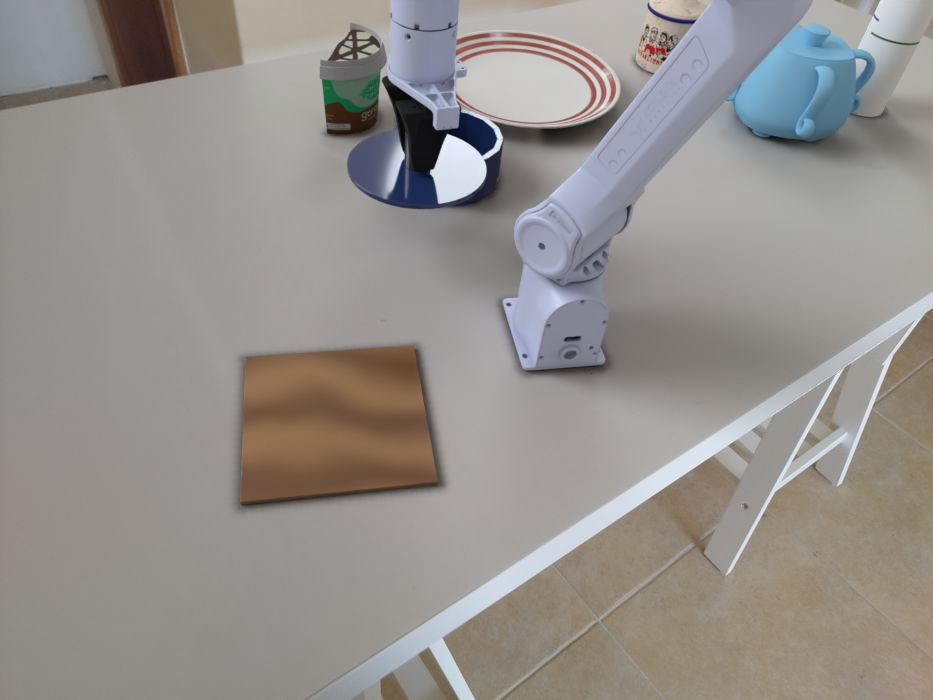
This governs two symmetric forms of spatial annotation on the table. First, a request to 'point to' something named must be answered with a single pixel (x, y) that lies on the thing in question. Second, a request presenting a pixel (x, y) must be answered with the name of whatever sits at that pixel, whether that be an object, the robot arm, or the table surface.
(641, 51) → the teacup with lid
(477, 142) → the tin
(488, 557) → the table surface
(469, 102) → the dinner plate
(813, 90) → the decorative pot
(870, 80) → the cylindrical container
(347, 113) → the food container
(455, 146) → the tin lid
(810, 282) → the table surface
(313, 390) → the board
